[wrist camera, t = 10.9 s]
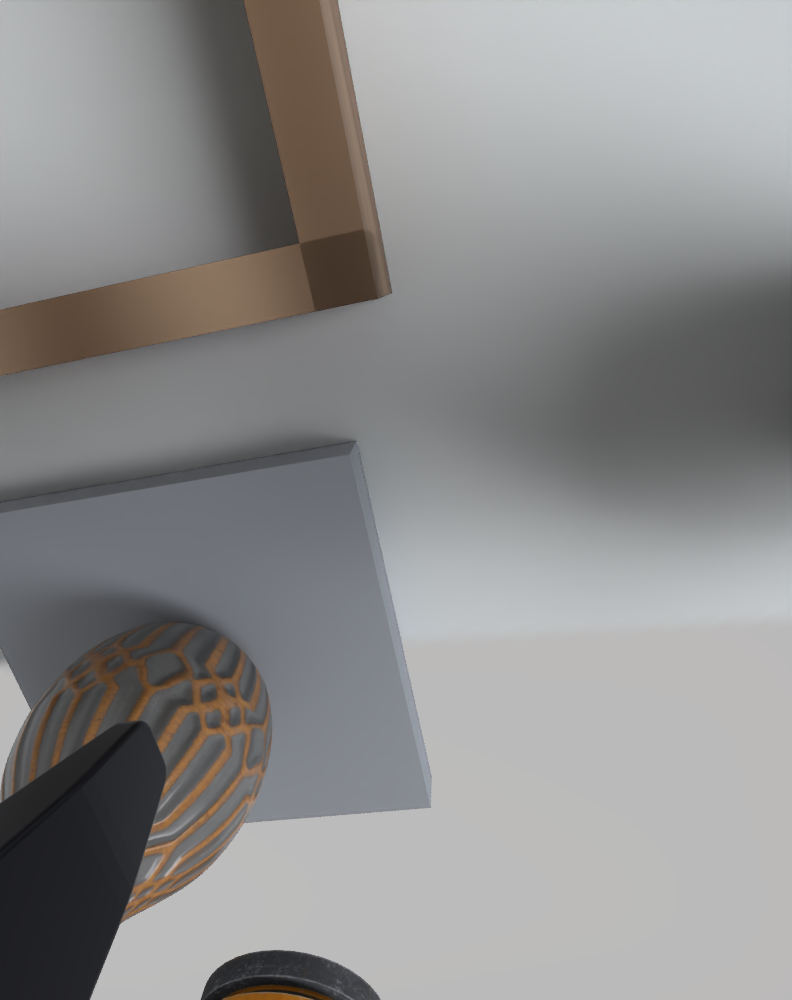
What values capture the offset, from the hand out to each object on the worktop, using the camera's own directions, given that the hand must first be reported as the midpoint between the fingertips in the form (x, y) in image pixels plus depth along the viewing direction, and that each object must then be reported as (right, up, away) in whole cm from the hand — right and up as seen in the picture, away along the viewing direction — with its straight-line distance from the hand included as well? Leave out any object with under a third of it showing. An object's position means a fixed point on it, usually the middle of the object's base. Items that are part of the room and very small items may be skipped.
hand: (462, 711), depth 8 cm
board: (-8, -3, +15) cm, 17 cm away
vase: (-8, -3, +13) cm, 16 cm away
